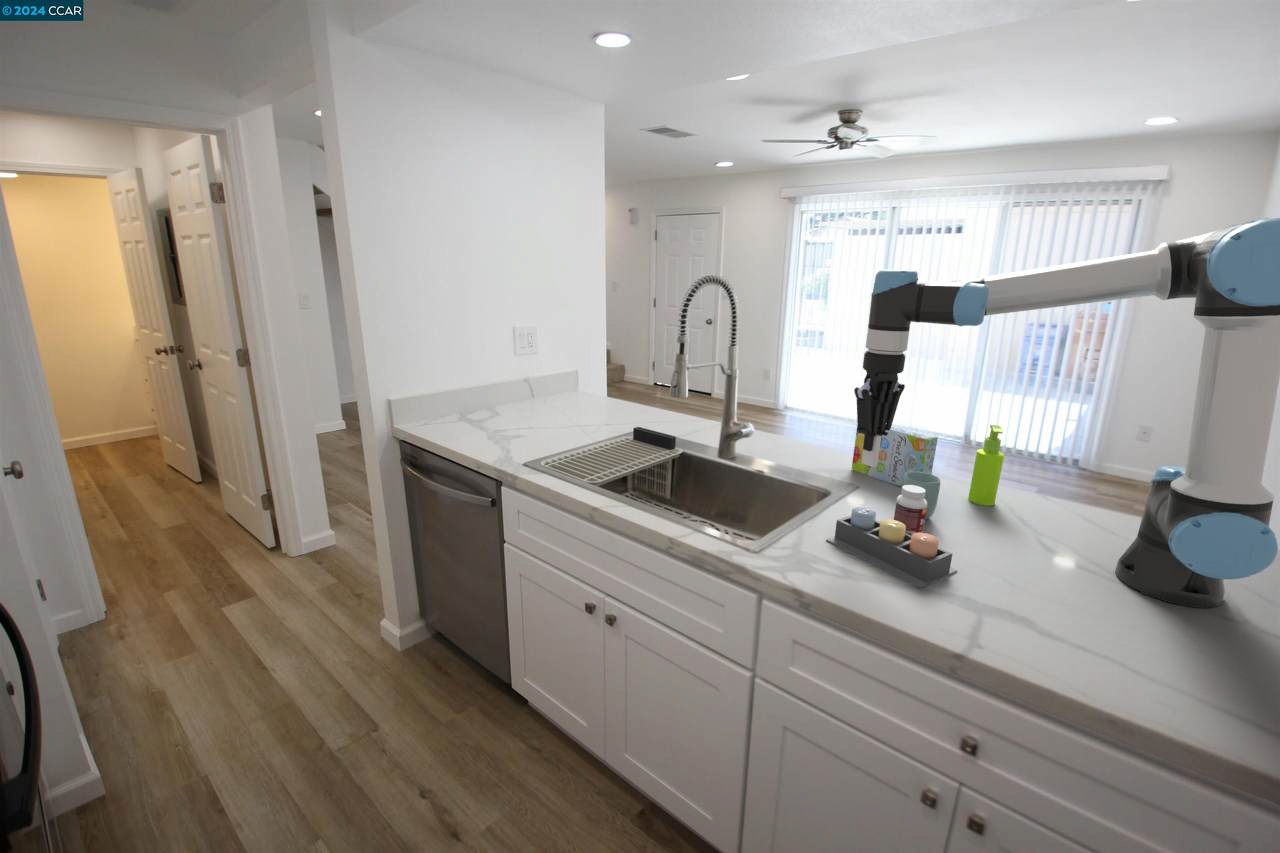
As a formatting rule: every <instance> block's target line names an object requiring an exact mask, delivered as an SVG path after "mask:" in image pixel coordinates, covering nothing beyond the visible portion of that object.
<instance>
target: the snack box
mask: <svg viewBox="0 0 1280 853" xmlns="http://www.w3.org/2000/svg"><path fill="white" fill-rule="evenodd" d="M855 432H856V433H855V440H854V447H853V448H854V449H853V454H852V463H851V470H852V469H853V470H855V471H854V472H856V471H858V472H857V473H859V472H860V474H862V473H863V475H865V476H868V477H871V478H874V479H877V480H879V481H883V482H885V483H889V484H891V485H894V486H897V487H900V488H902V485H903V479H904V475H905V473H907V472H924V473H929V474H932V475H933V469H934V468H933V467H934V463H935V456H936V450H937V444H938V438H939V436H936V435H932V434H928V433H924V432H920V431H917V430H912V429H909V428H904V427H901V426H896V425H893V424H892V426H891V429H890V430H889V431H888V430H886V431H885V432H888V435H887V436H884V435H882V440H881V447H880V450H879V457H878V464H877V466H875V467H871V466H868V465H865V464H862V456H863V445H864V436H865V435H864V433H861V432H858V425H857V424H856V431H855ZM853 470H852V471H853Z"/></svg>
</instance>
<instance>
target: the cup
mask: <svg viewBox="0 0 1280 853" xmlns="http://www.w3.org/2000/svg"><path fill="white" fill-rule="evenodd" d="M904 485H915V486H919V487H922V488H924V489H925V490H926V493H925V497H924V499H925V500H926V501H927V510H926V516H925V520H928V519H930V518H931V517H932V516H933V514H934V513H935V511H936V507H937V504H938V500H939V494H940V489H941V479H940V477H939V476H936V475H934V474H933V473H932V474H929V473H924V472H907V473H905V475H904V479H903V485H902V487H903V486H904ZM902 487H901V488H902ZM900 495H902V492H901V494H900Z"/></svg>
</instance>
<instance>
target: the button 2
mask: <svg viewBox="0 0 1280 853" xmlns="http://www.w3.org/2000/svg"><path fill="white" fill-rule="evenodd" d="M879 522H880V528H879V535H878V537H879V538H881V539H883V540H886V541H888V542H890V543H892V544H894V545H898V544H901V543H903V542H904V536H905V530H906V526H905V524H903V523H902V522H899V521H896V520H894V519H888V518H887V519H882V520H880V521H879Z"/></svg>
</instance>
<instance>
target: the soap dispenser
mask: <svg viewBox="0 0 1280 853" xmlns="http://www.w3.org/2000/svg"><path fill="white" fill-rule="evenodd" d="M989 428H990V433H989V436H987V437H985V438H984V443H983V448H979V449H977V450H976V456H975V458H974V459H975V460H974V465H973V470H972V475H971V476H972V477H971V481H970V487H969V492H968V496H967V497H968V498H967V499H968V501H970V502H971V503H974V505H975V504H976V505H979V506H985V507H986V506H987V507H989V506H994V505H995V503H996V499H997V498H996V497H997V494H998V489H999V483H1000V477H1001V473H1002V470H1003V463H1004V459H1005V454H1004V452H1001V451H1000V449H1001V448H1000V447H1001V443H1002V440H1001V439H1000V438H999V434H1003V429H1002V427H1001V426H1000V425H994V424H990V426H989Z"/></svg>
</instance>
